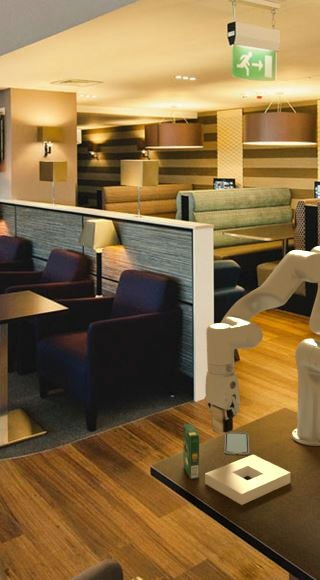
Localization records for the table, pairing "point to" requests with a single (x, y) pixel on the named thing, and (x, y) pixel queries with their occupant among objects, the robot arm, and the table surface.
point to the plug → (218, 420)
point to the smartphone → (237, 443)
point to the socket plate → (241, 490)
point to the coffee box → (191, 451)
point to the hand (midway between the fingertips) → (222, 427)
